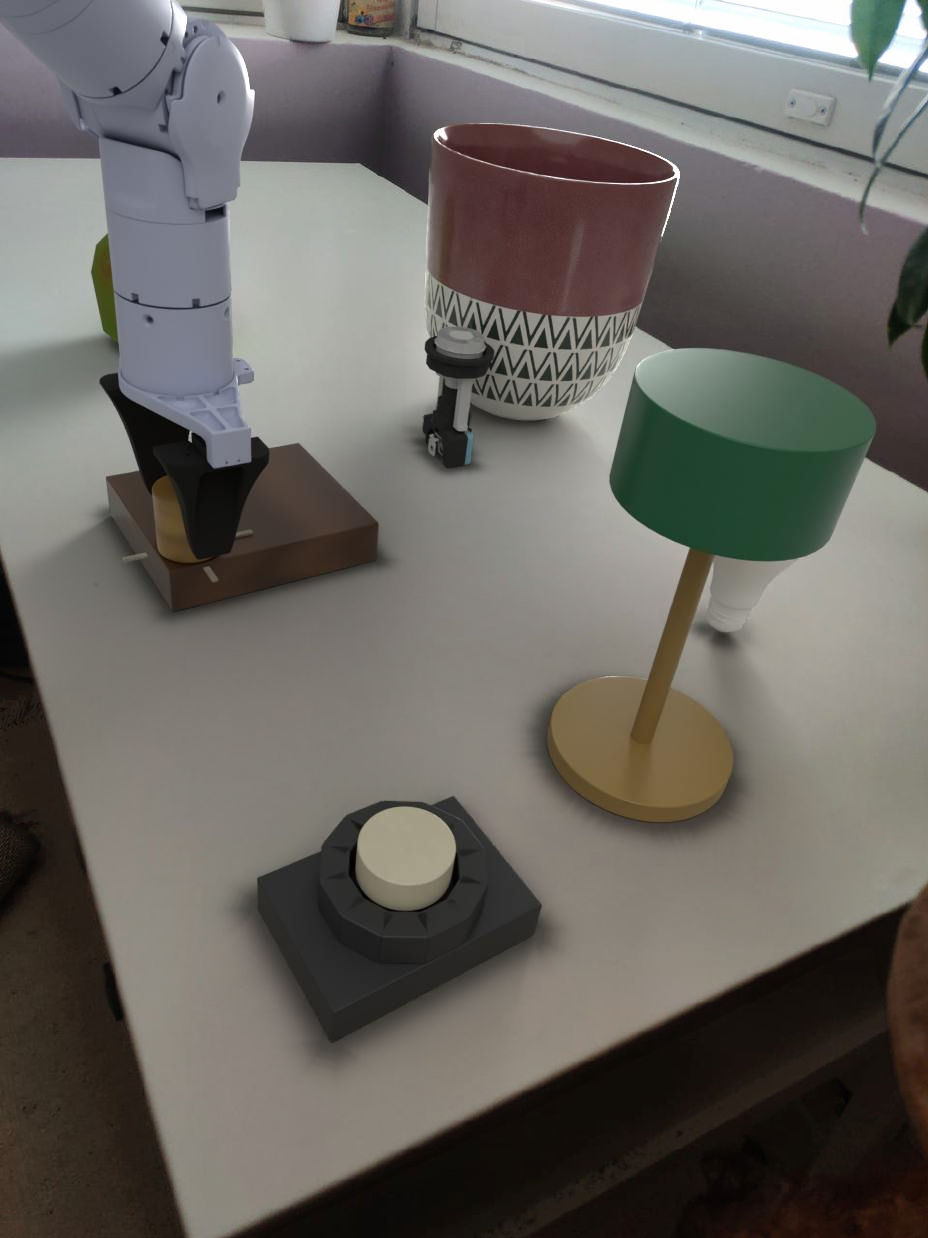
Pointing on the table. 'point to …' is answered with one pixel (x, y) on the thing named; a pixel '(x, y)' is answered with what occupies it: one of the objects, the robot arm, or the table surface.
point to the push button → (454, 391)
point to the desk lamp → (705, 552)
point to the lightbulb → (738, 589)
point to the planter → (541, 256)
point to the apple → (104, 287)
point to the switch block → (390, 922)
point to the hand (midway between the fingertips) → (187, 520)
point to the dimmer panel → (256, 532)
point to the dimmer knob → (170, 524)
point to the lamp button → (405, 858)
